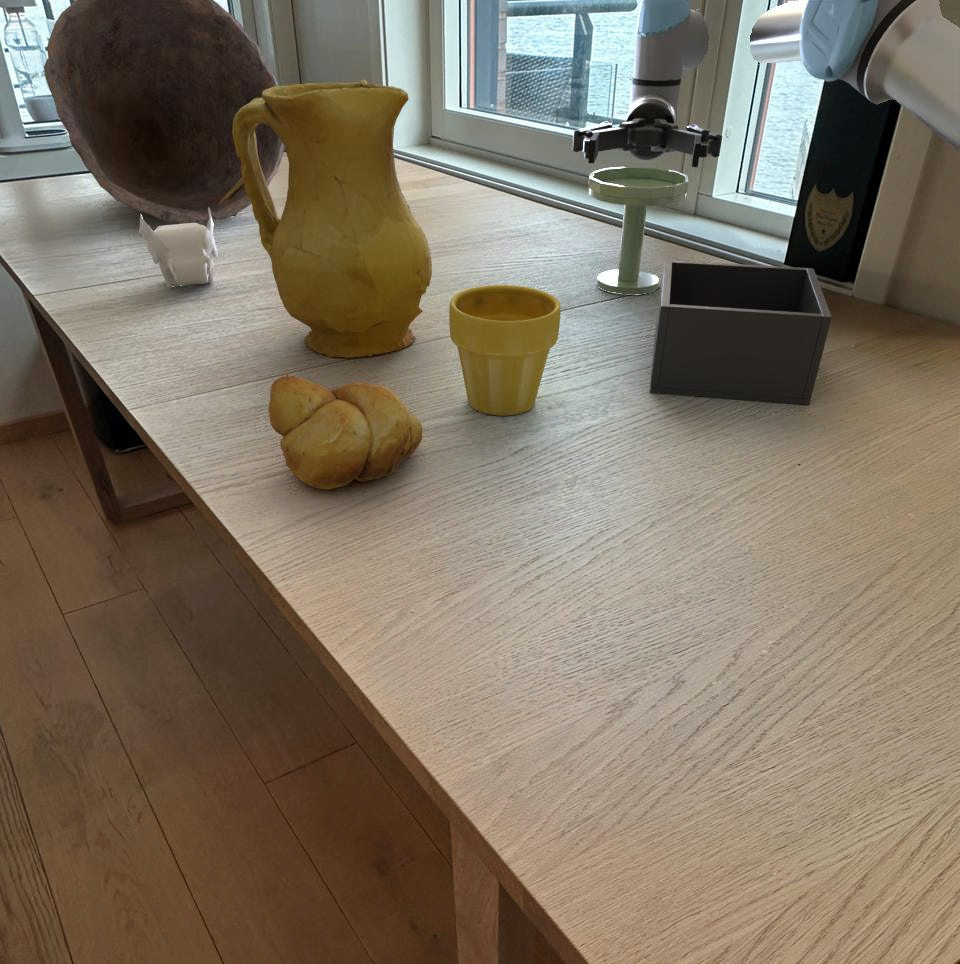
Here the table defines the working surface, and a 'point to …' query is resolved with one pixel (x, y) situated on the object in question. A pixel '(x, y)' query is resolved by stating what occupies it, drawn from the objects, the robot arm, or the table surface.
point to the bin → (739, 332)
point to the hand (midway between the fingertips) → (643, 153)
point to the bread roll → (341, 430)
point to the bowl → (160, 102)
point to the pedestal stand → (634, 218)
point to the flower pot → (503, 344)
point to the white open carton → (182, 251)
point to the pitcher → (338, 215)
